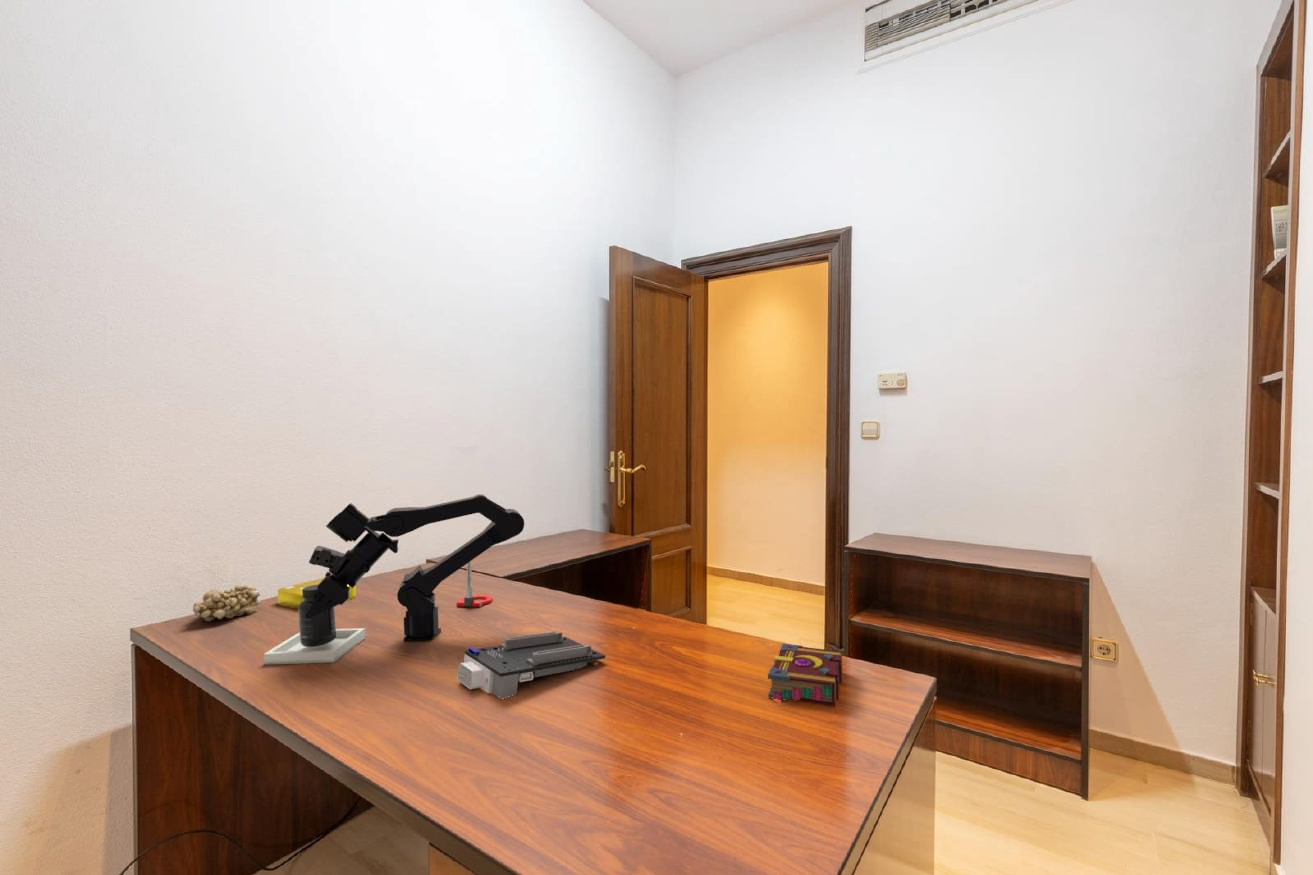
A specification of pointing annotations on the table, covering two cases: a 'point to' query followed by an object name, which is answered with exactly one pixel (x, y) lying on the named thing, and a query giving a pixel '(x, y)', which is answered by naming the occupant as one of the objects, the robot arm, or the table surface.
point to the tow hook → (469, 599)
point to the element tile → (300, 593)
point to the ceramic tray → (314, 649)
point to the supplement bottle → (315, 621)
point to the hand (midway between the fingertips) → (309, 612)
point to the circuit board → (522, 661)
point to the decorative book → (806, 675)
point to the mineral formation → (227, 603)
